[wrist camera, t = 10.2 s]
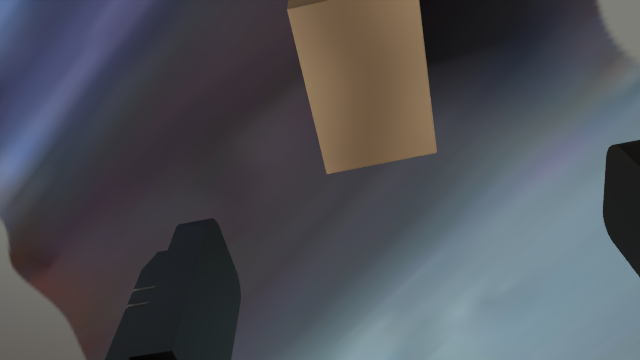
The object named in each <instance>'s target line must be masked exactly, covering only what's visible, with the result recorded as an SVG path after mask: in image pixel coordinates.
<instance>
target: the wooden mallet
mask: <svg viewBox="0 0 640 360" xmlns="http://www.w3.org/2000/svg"><path fill="white" fill-rule="evenodd" d="M287 11H288V15H289V19H290V23H291V27H292V31H293V36H294V40H295V44H296V48H297V52H298V56H299V60H300V65H301V69H302V73H303V77H304V81H305V85H306V89H307V94H308V98H309V102H310V106H311V110H312V114H313V118H314V123H315V127H316V131H317V135H318V139H319V143H320V147H321V152H322V156H323V160H324V164H325V168H326V172H327V174H330V173H335V172H340V171H345V170H350V169H355V168H360V167H365V166H371V165H376V164H381V163H386V162H391V161H396V160H401V159H406V158H411V157H416V156H422V155H427V154H432V153H437V150H436V141H435V133H434V124H433V116H432V107H431V98H430V90H429V81H428V73H427V64H426V55H425V47H424V38H423V30H422V21H421V12H420V4H419V0H288V7H287Z"/></svg>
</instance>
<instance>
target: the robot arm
mask: <svg viewBox="0 0 640 360" xmlns="http://www.w3.org/2000/svg"><path fill="white" fill-rule="evenodd" d="M603 217H604V223H605V226H606V229H607V232H608V234H609V236H610V238H611V240H612V241H613V243H614V244H615V245H616V247H617V248H618V249H619V251H620V252H621V253H622V254H623V256H624V257H625V258H626V260H627V261H628V262H629V264H630V265H631V266H632V268H633V269H634V270H635V271H636V273H637V274H638V275H639V277H640V140H637V141H631V142H626V143H621V144H615V145H612V146H610V147H609V149H608V151H607V156H606V170H605V185H604V201H603ZM240 301H241V291H240V283H239V278H238V274H237V271H236V269H235V266H234V264H233V261H232V258H231V256H230V253H229V251H228V248H227V245H226V243H225V240H224V238H223V235H222V232H221V230H220V227H219V225H218V223H217V222H216V220H215V219H213V218H211V219H206V220H201V221H195V222H190V223H185V224H179V225H178V226H177V227H176V229H175V232H174V235H173V238H172V240H171V243H170V246H169V249H168V250H167V251H161V252H157V254H156V255H155V256H154V257H153V258H152V259H151V260H150V261H149V263H148V264H147V265H146V266H145V267H144V268H143V269H142V271H141V273H140V276H139V278H138V280H137V283H136V285H135V288H134V293H132V295H131V297H130V300H129V302H128V308H126V309H125V312H124V314H123V317H122V319H121V322H120V324H119V326H118V329H117V331H116V334H115V336H114V339H113V341H112V343H111V346H110V348H109V351H108V353H107V356H106V358H105V360H231V356H232V350H233V344H234V338H235V332H236V326H237V320H238V314H239V308H240Z"/></svg>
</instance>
